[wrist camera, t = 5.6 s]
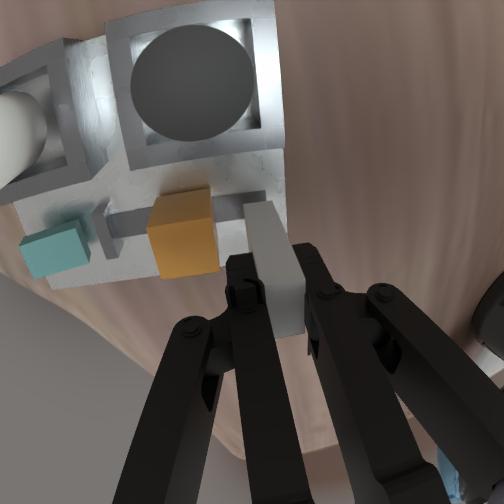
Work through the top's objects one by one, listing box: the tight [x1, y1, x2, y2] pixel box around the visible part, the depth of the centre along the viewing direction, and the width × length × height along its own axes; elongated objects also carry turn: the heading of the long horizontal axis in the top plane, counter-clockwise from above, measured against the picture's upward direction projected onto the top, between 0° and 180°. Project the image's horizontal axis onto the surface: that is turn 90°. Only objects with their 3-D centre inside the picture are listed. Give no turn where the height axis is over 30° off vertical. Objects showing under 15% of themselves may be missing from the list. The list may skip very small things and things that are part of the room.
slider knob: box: [146, 188, 220, 280], centre depth 16 cm, size 3×3×4 cm
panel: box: [0, 0, 287, 290], centre depth 16 cm, size 15×17×7 cm
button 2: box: [130, 25, 254, 142], centre depth 10 cm, size 4×4×3 cm
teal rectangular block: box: [19, 219, 91, 280], centre depth 16 cm, size 2×4×1 cm, turn 95°
